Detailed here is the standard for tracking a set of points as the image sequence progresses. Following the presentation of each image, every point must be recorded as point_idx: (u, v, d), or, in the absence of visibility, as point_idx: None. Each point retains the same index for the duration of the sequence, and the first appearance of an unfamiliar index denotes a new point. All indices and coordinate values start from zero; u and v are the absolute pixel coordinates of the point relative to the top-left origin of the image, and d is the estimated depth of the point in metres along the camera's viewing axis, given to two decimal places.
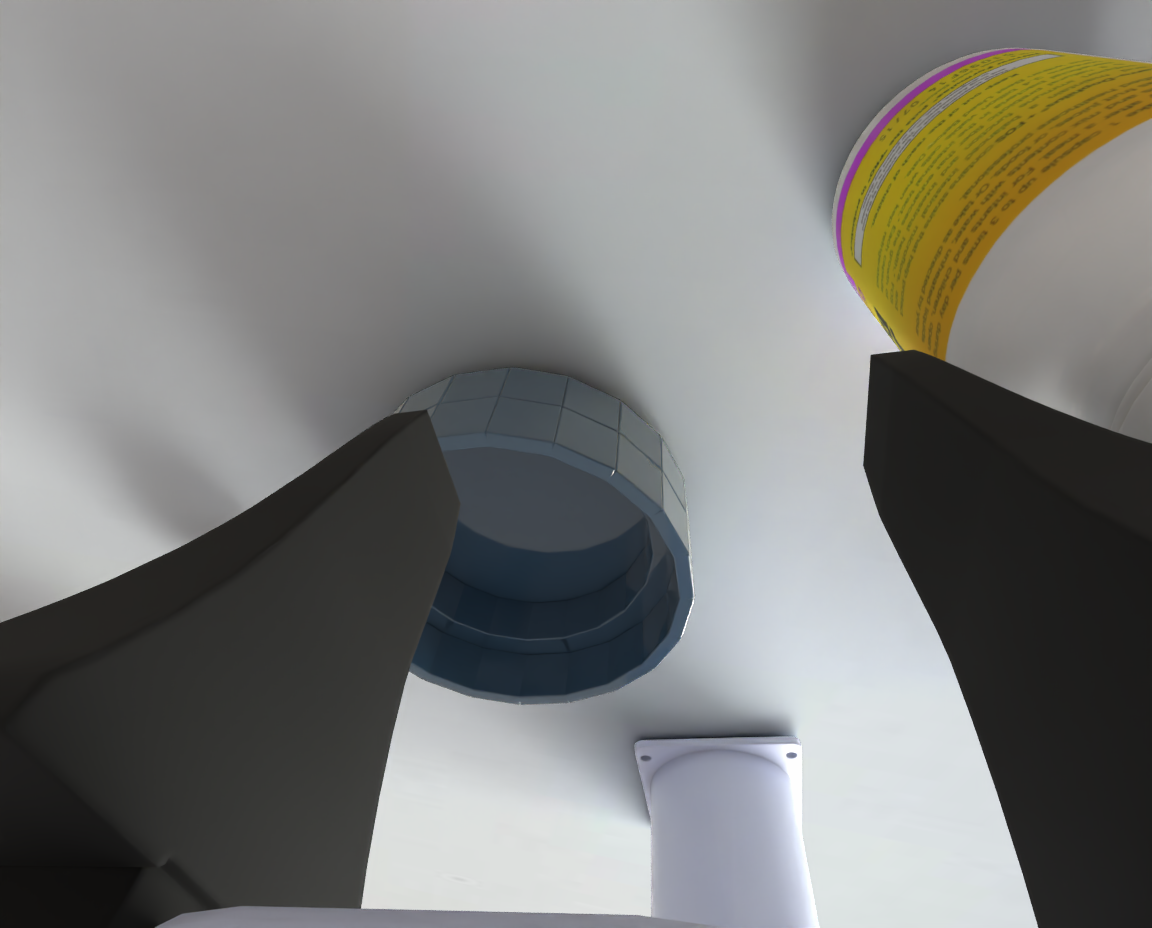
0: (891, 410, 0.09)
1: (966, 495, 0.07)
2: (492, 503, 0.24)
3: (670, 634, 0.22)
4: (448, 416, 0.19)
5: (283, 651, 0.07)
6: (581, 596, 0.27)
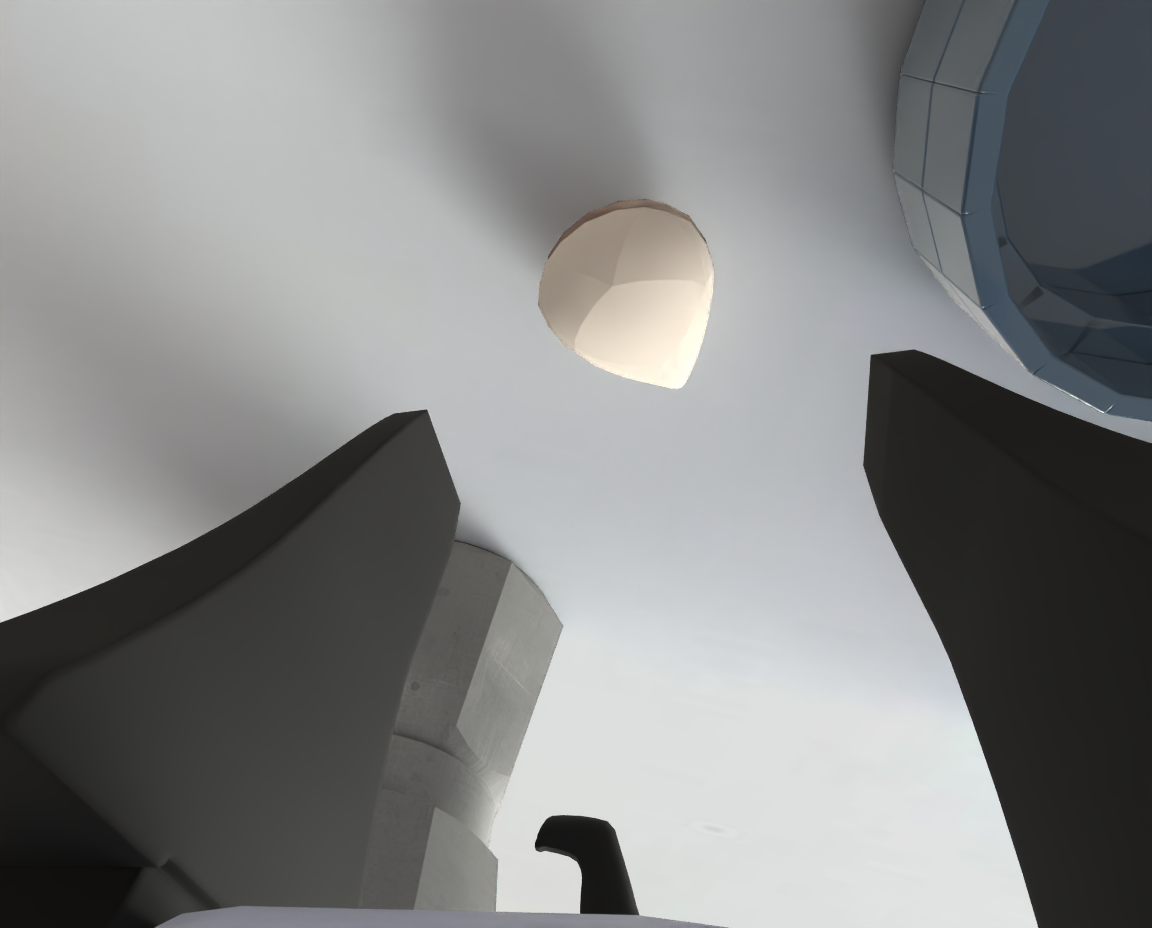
0: (891, 410, 0.09)
1: (966, 495, 0.07)
2: None
3: None
4: None
5: (283, 651, 0.07)
6: None
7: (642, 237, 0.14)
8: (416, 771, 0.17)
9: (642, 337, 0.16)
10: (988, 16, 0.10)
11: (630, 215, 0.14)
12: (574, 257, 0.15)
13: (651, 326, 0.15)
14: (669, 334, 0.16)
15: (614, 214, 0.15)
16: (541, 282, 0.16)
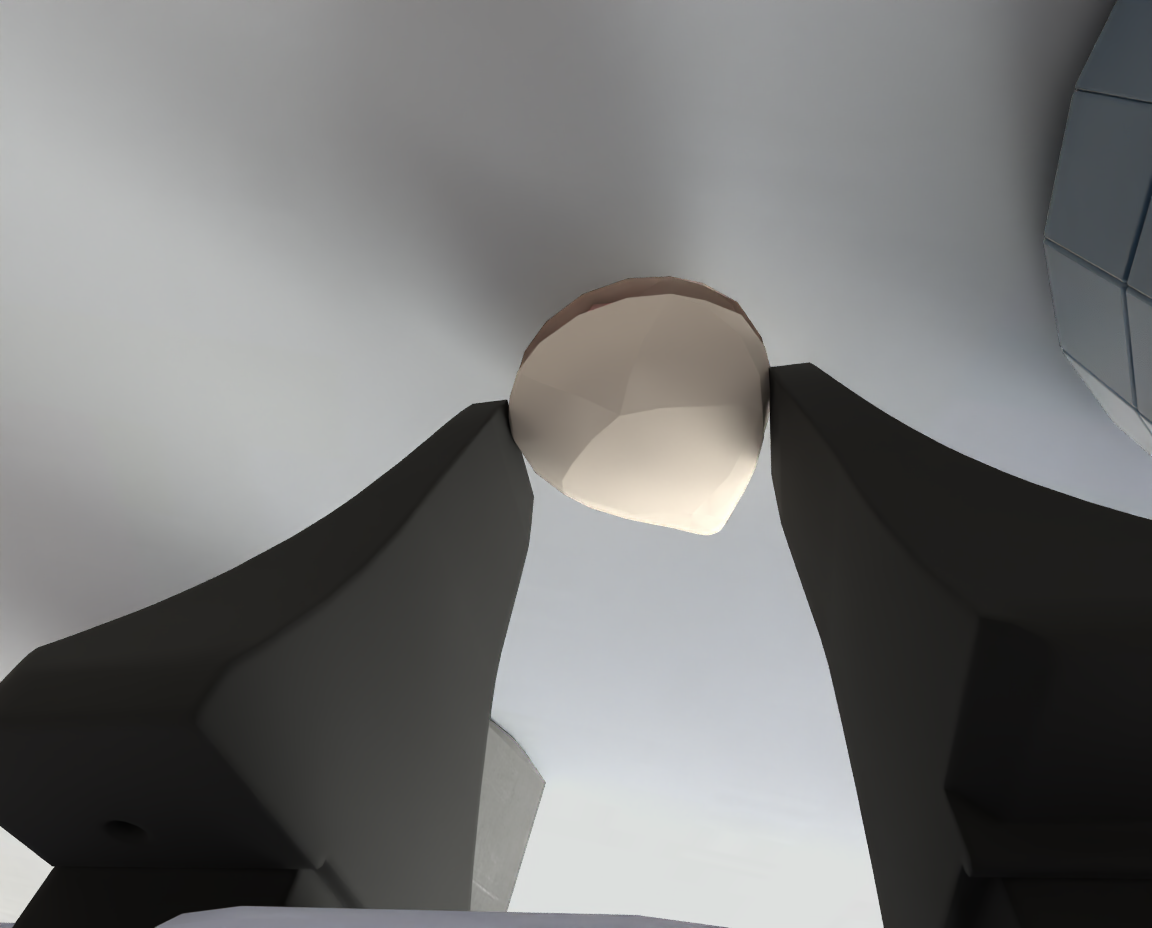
0: (781, 422, 0.09)
1: (826, 507, 0.07)
2: None
3: None
4: None
5: (405, 644, 0.07)
6: None
7: (668, 342, 0.09)
8: None
9: (664, 482, 0.10)
10: None
11: (648, 307, 0.09)
12: (561, 368, 0.10)
13: (678, 468, 0.10)
14: (705, 477, 0.10)
15: (623, 304, 0.09)
16: (511, 398, 0.10)
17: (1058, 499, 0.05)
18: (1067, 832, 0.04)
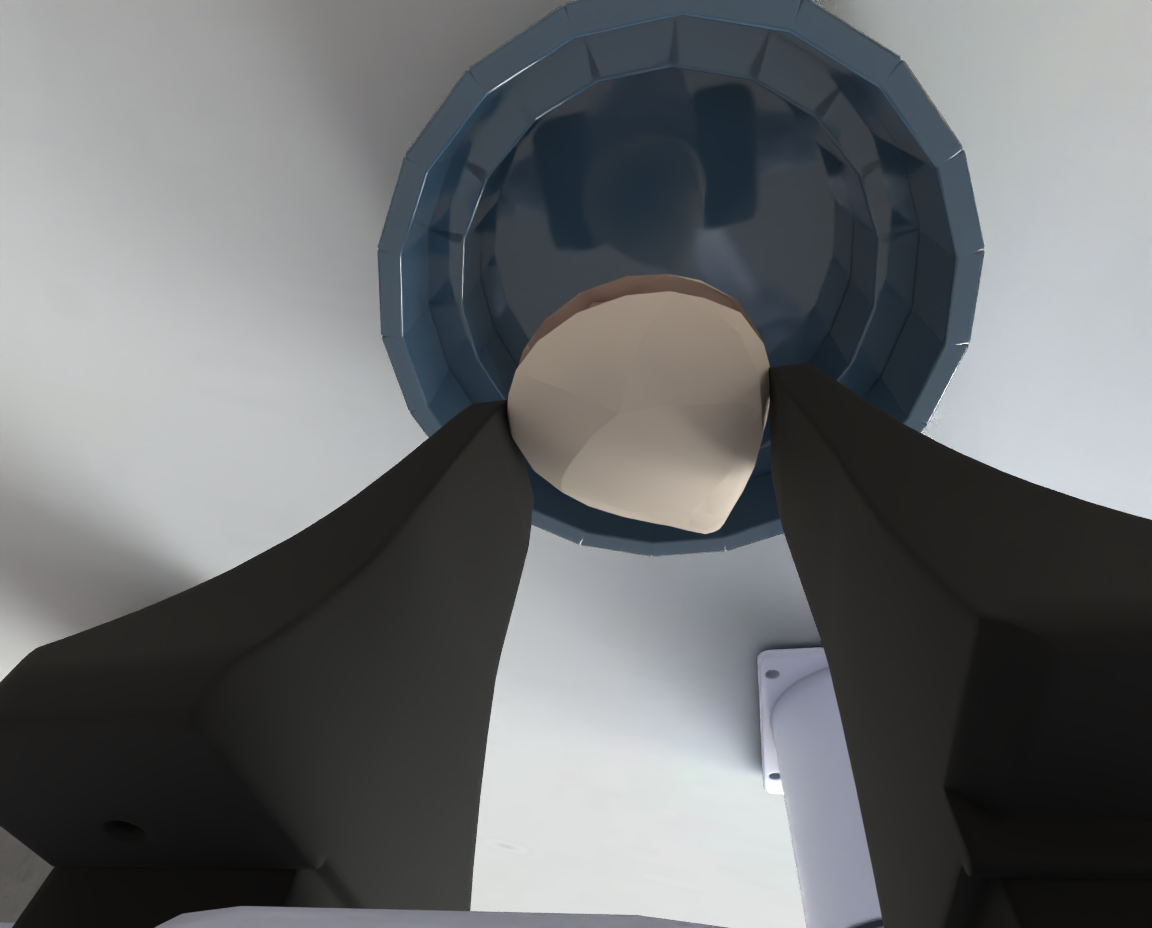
0: (780, 422, 0.09)
1: (826, 507, 0.07)
2: (614, 260, 0.17)
3: (912, 417, 0.14)
4: None
5: (405, 643, 0.07)
6: None
7: (667, 340, 0.09)
8: None
9: (663, 480, 0.10)
10: None
11: (647, 304, 0.09)
12: (559, 366, 0.10)
13: (677, 466, 0.10)
14: (704, 475, 0.10)
15: (622, 302, 0.09)
16: (510, 396, 0.10)
17: (1058, 499, 0.05)
18: (1067, 832, 0.04)
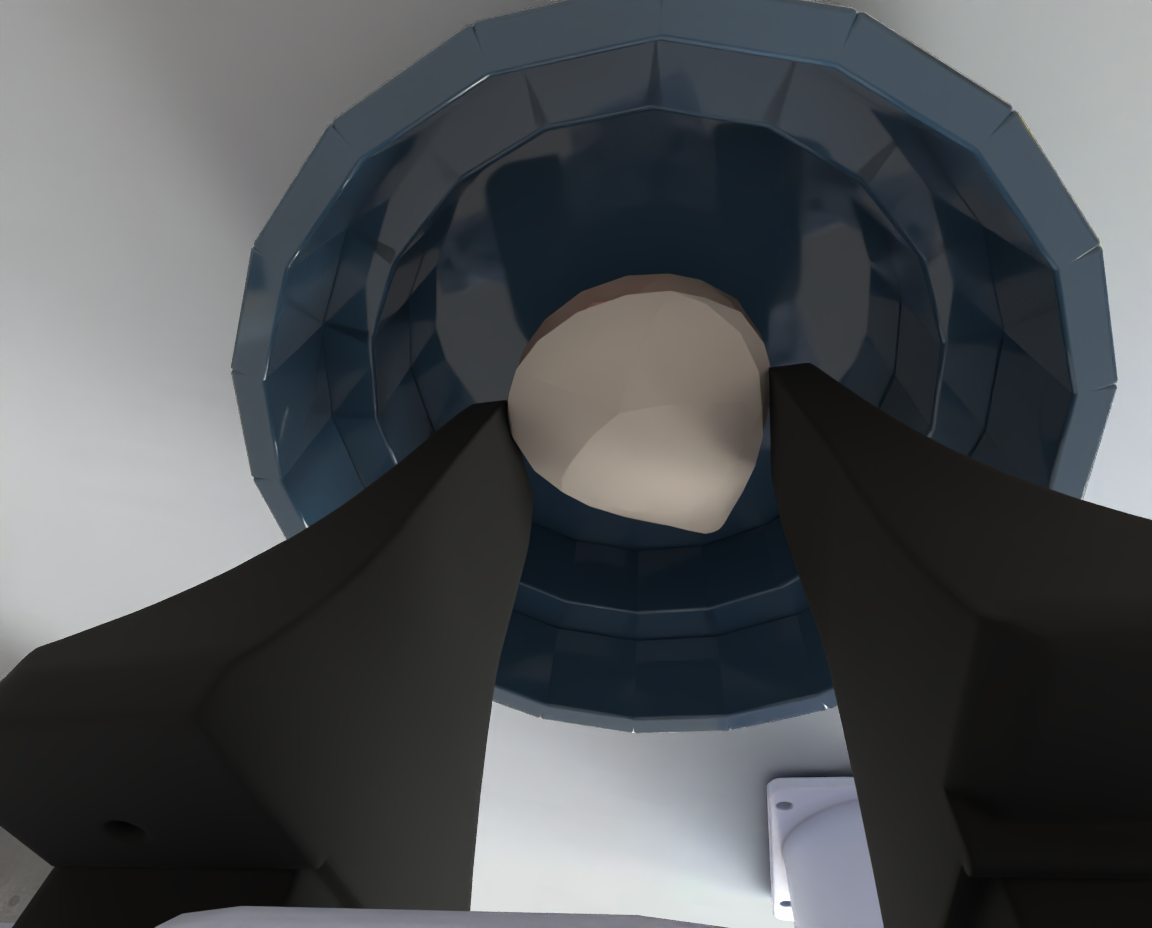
0: (781, 422, 0.09)
1: (826, 507, 0.07)
2: None
3: None
4: None
5: (405, 644, 0.07)
6: (727, 537, 0.15)
7: (667, 340, 0.09)
8: None
9: (664, 480, 0.10)
10: None
11: (648, 304, 0.09)
12: (560, 366, 0.10)
13: (678, 466, 0.10)
14: (704, 474, 0.10)
15: (622, 302, 0.09)
16: (510, 396, 0.10)
17: (1058, 499, 0.05)
18: (1067, 832, 0.04)
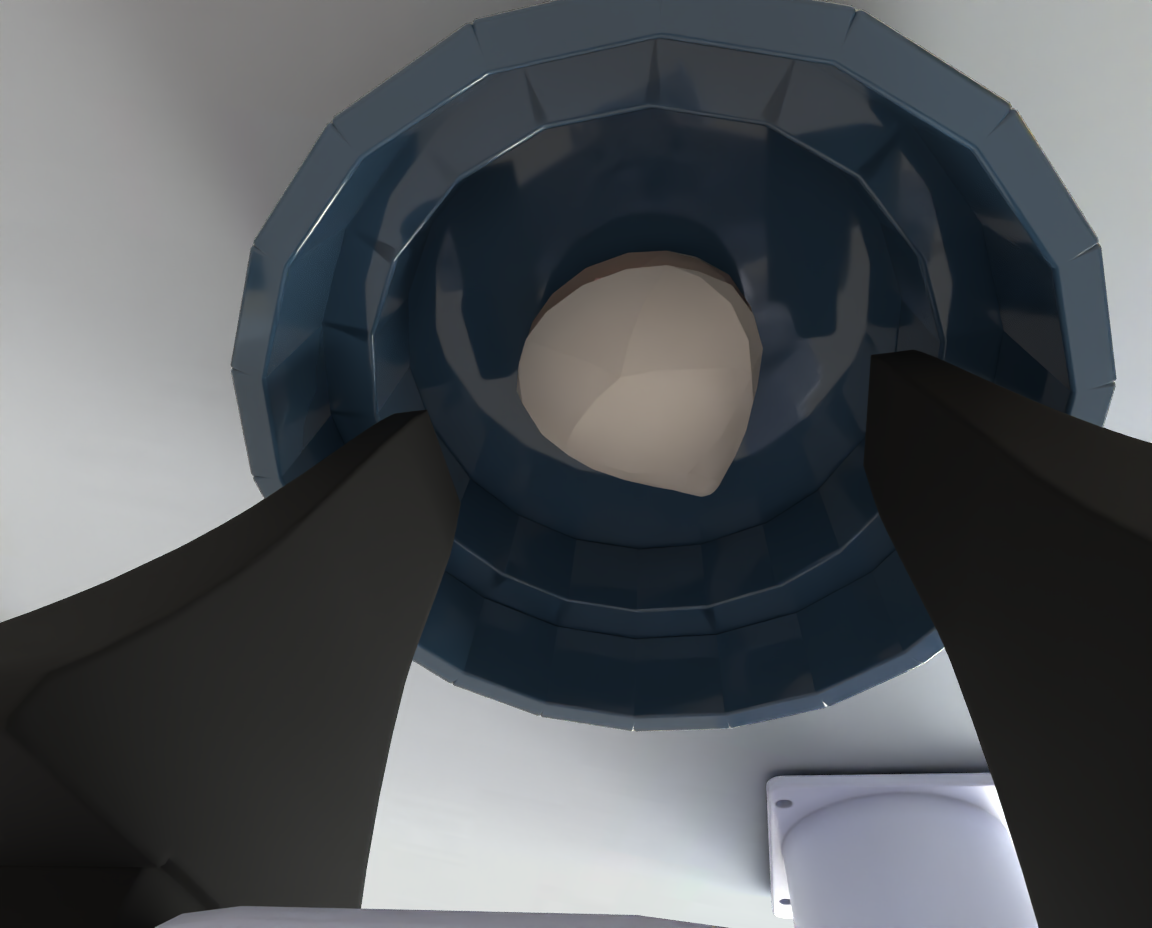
0: (891, 410, 0.09)
1: (966, 495, 0.07)
2: None
3: None
4: None
5: (283, 650, 0.07)
6: (726, 536, 0.15)
7: (664, 309, 0.10)
8: None
9: (661, 442, 0.11)
10: None
11: (647, 277, 0.10)
12: (566, 335, 0.10)
13: (674, 428, 0.11)
14: (698, 437, 0.11)
15: (623, 275, 0.10)
16: (520, 364, 0.11)
17: None
18: None
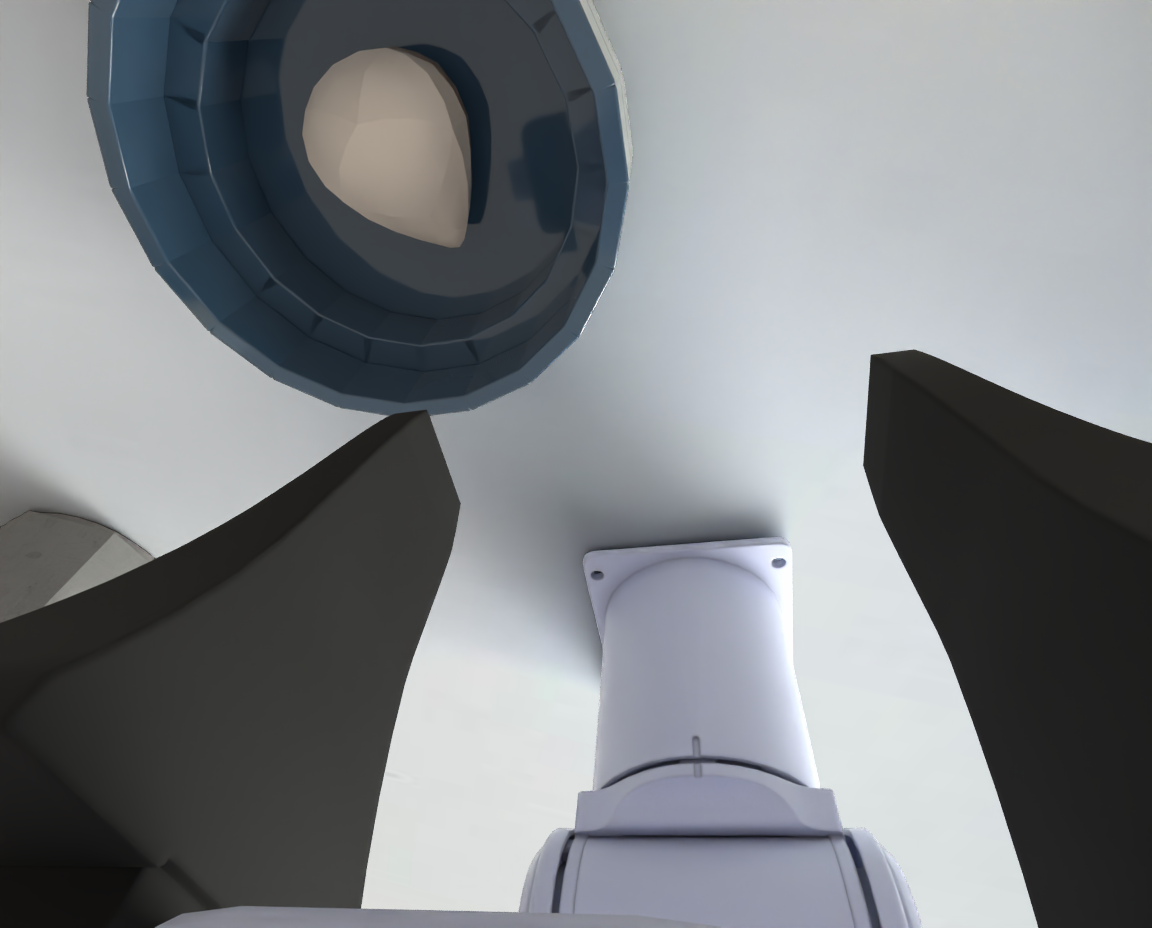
0: (891, 410, 0.09)
1: (966, 495, 0.07)
2: None
3: (598, 261, 0.15)
4: None
5: (284, 650, 0.07)
6: (498, 304, 0.20)
7: (380, 75, 0.15)
8: None
9: (399, 182, 0.16)
10: None
11: (371, 55, 0.15)
12: (323, 98, 0.16)
13: (405, 170, 0.16)
14: (426, 181, 0.16)
15: (357, 55, 0.15)
16: (303, 129, 0.16)
17: None
18: None
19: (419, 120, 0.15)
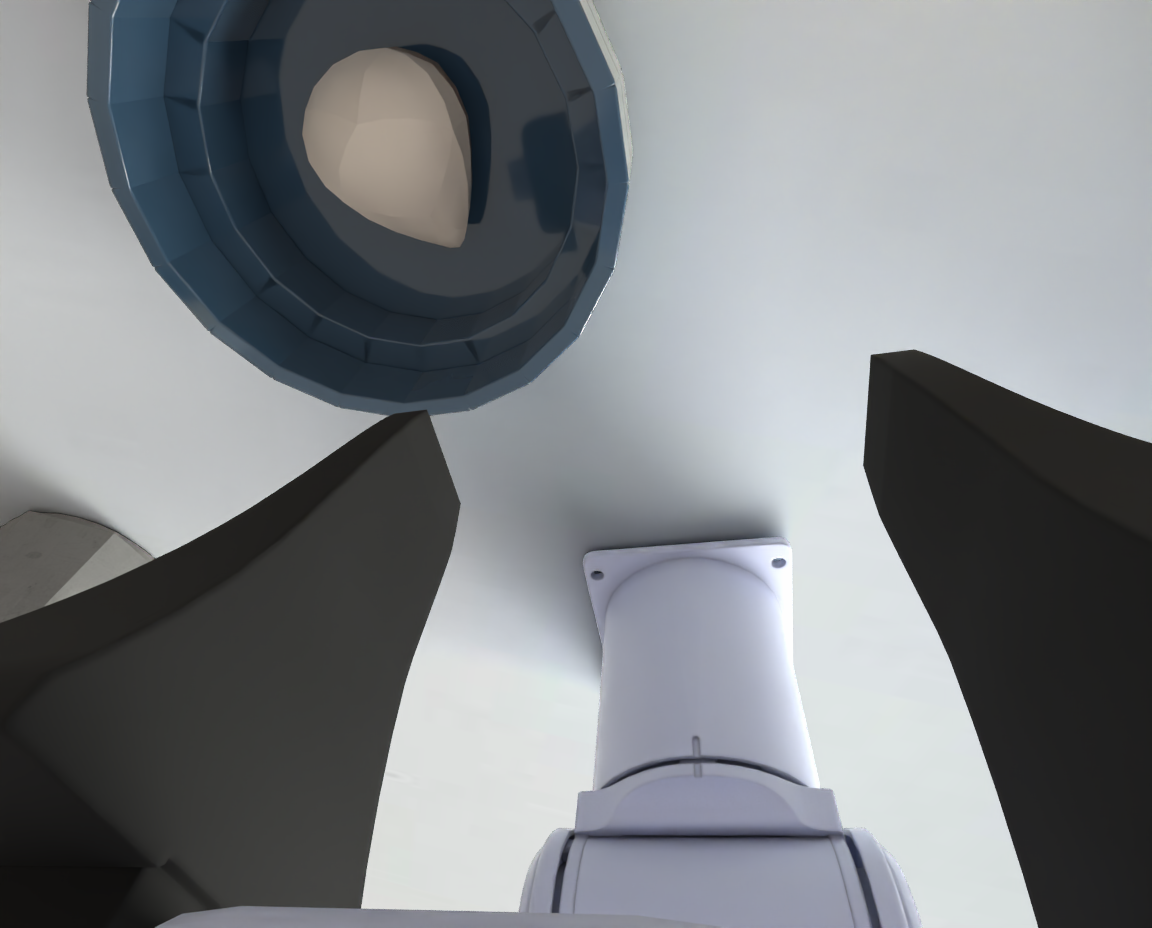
0: (891, 410, 0.09)
1: (966, 495, 0.07)
2: None
3: (598, 261, 0.15)
4: None
5: (284, 650, 0.07)
6: (498, 304, 0.20)
7: (380, 75, 0.15)
8: None
9: (399, 182, 0.16)
10: None
11: (371, 55, 0.15)
12: (323, 98, 0.16)
13: (405, 170, 0.16)
14: (426, 181, 0.16)
15: (357, 55, 0.15)
16: (303, 129, 0.16)
17: None
18: None
19: (419, 120, 0.15)
